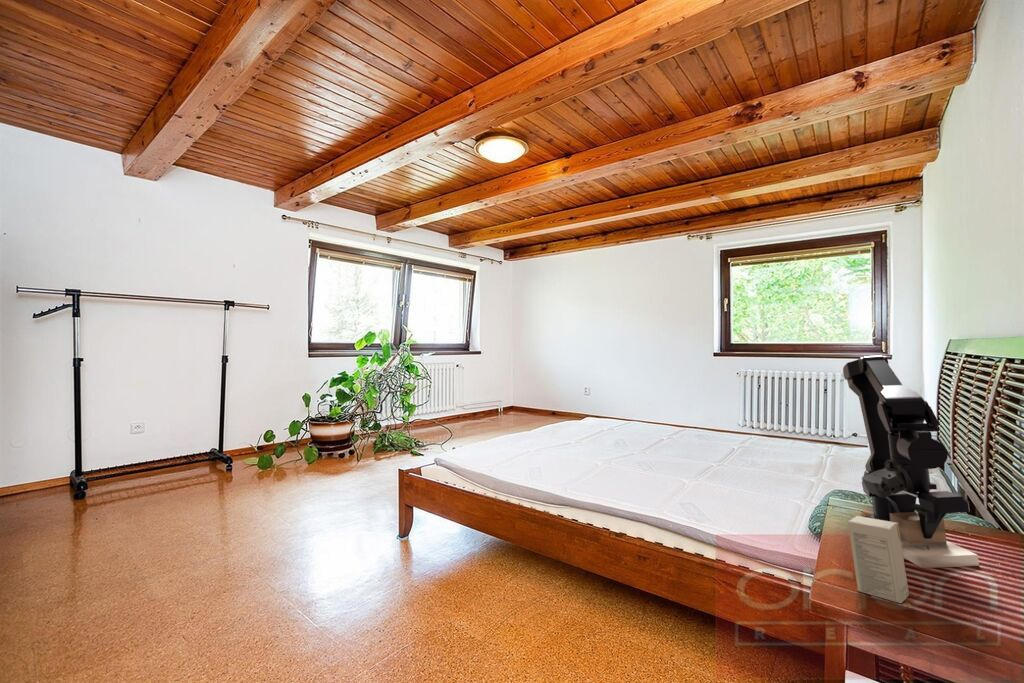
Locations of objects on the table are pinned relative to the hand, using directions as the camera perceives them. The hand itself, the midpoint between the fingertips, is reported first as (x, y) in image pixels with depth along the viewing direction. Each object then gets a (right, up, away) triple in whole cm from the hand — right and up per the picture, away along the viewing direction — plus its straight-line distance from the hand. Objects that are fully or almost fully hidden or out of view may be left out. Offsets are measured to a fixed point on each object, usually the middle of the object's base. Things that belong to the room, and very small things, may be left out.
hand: (917, 533), depth 92 cm
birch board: (0, -3, -2) cm, 4 cm away
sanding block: (0, -1, 0) cm, 2 cm away
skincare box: (-19, -5, -14) cm, 24 cm away
